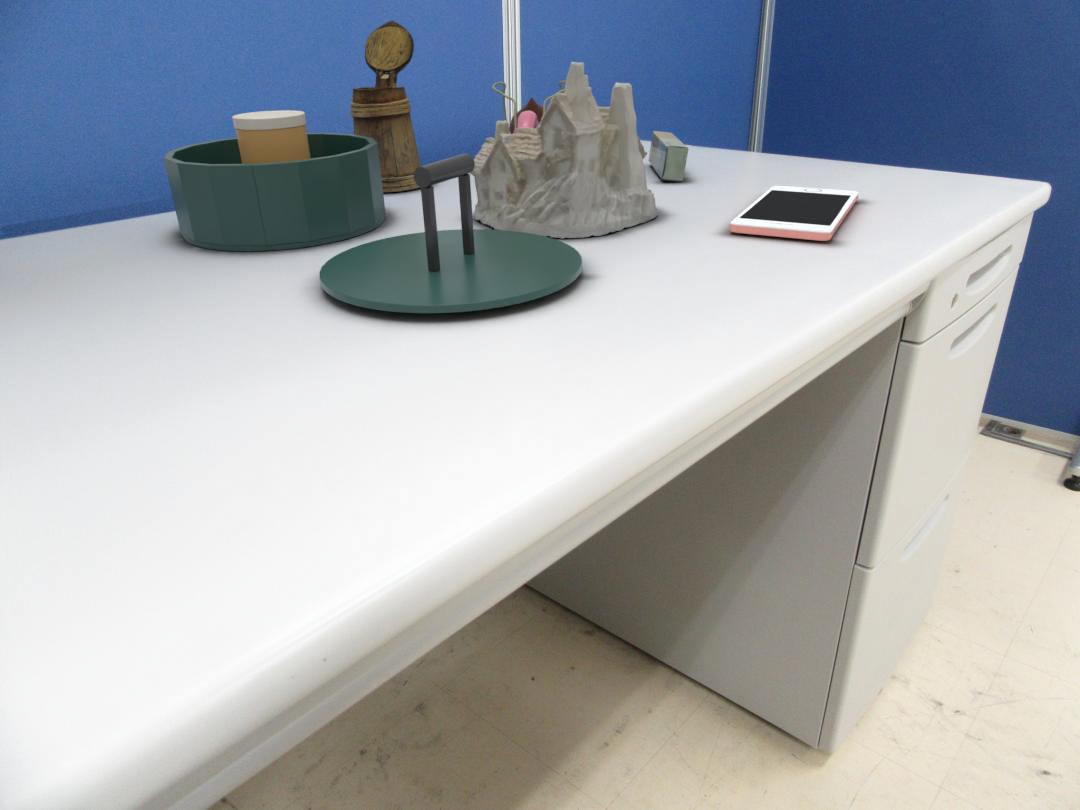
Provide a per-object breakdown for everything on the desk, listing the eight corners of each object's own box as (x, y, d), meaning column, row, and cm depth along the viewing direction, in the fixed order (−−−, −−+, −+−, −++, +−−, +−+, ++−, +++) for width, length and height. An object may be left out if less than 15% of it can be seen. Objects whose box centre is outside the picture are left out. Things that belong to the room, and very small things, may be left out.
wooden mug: (441, 171, 103) (428, 19, 95) (417, 193, 91) (401, 20, 83) (374, 172, 104) (357, 21, 96) (342, 193, 92) (319, 23, 84)
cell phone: (858, 199, 82) (859, 190, 82) (829, 242, 68) (830, 231, 67) (772, 193, 86) (773, 184, 85) (728, 232, 72) (728, 222, 71)
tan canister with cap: (237, 224, 78) (216, 117, 73) (285, 210, 83) (268, 109, 78) (288, 230, 75) (269, 119, 71) (334, 215, 80) (319, 111, 76)
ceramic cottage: (680, 213, 78) (677, 48, 72) (555, 252, 69) (538, 67, 63) (576, 200, 89) (564, 56, 83) (456, 232, 80) (434, 73, 74)
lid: (263, 298, 59) (240, 175, 55) (421, 233, 75) (412, 134, 71) (501, 340, 50) (494, 198, 46) (621, 256, 66) (624, 145, 62)
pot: (139, 238, 76) (118, 158, 72) (283, 198, 91) (271, 129, 88) (291, 260, 67) (276, 171, 64) (422, 212, 83) (415, 137, 79)
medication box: (684, 182, 93) (689, 147, 91) (661, 181, 93) (666, 146, 91) (667, 162, 104) (672, 131, 102) (647, 161, 104) (651, 129, 102)
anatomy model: (478, 159, 92) (486, 50, 96) (494, 217, 105) (500, 119, 109) (566, 158, 91) (569, 48, 95) (571, 216, 104) (574, 118, 108)
